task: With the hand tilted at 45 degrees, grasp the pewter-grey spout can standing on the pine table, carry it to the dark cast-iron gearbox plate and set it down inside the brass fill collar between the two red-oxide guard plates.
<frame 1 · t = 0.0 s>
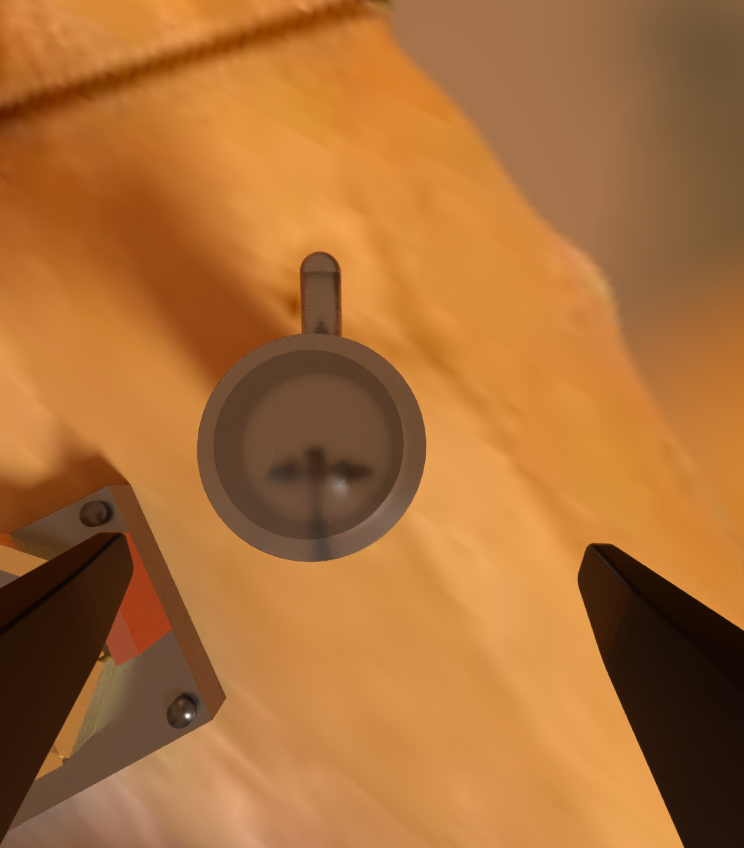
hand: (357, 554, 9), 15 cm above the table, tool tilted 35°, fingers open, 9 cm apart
gearbox: (40, 659, 22), on the table
spout can: (340, 461, 24), on the table
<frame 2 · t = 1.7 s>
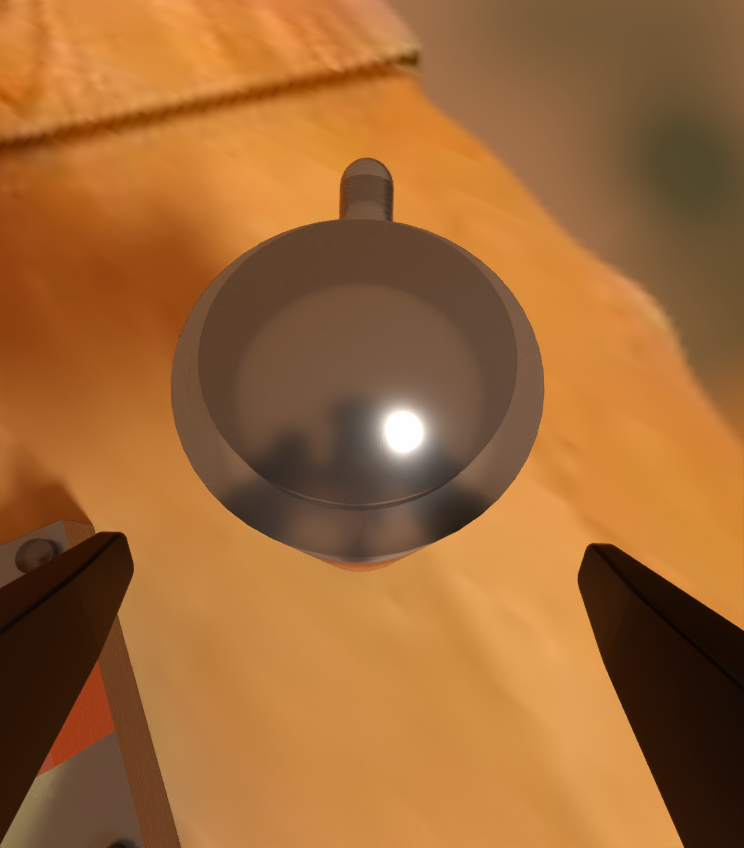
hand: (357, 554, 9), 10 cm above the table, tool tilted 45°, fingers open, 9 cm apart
spout can: (361, 503, 19), on the table
when the fingers open (9 cm above the table, at t = 7.8 s): spout can stays where it is, resting on gearbox.
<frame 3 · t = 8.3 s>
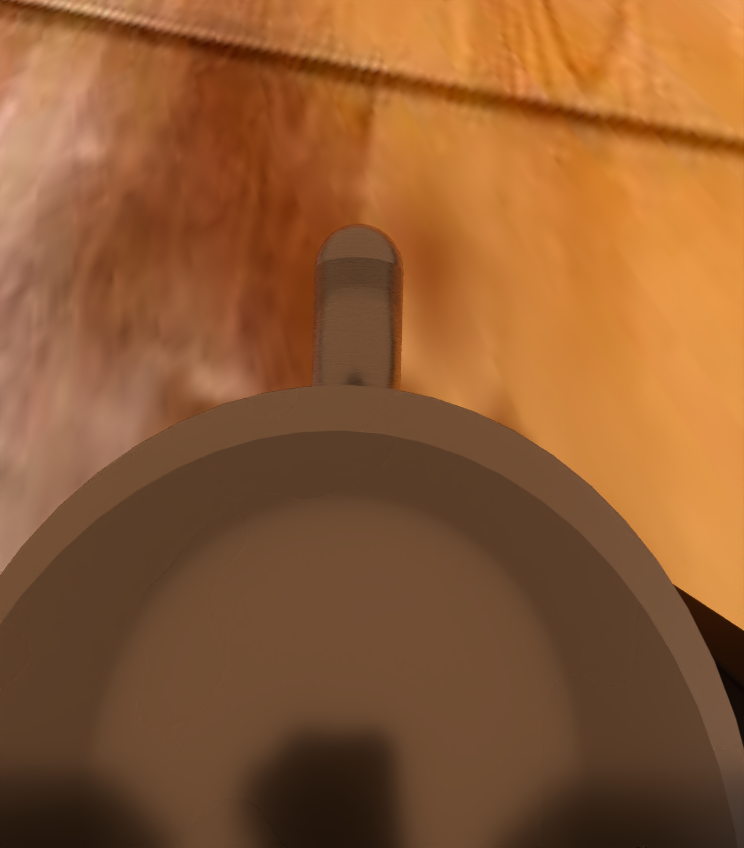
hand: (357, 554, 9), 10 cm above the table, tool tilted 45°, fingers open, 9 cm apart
spout can: (358, 609, 15), point 2 cm above the table, touching gearbox
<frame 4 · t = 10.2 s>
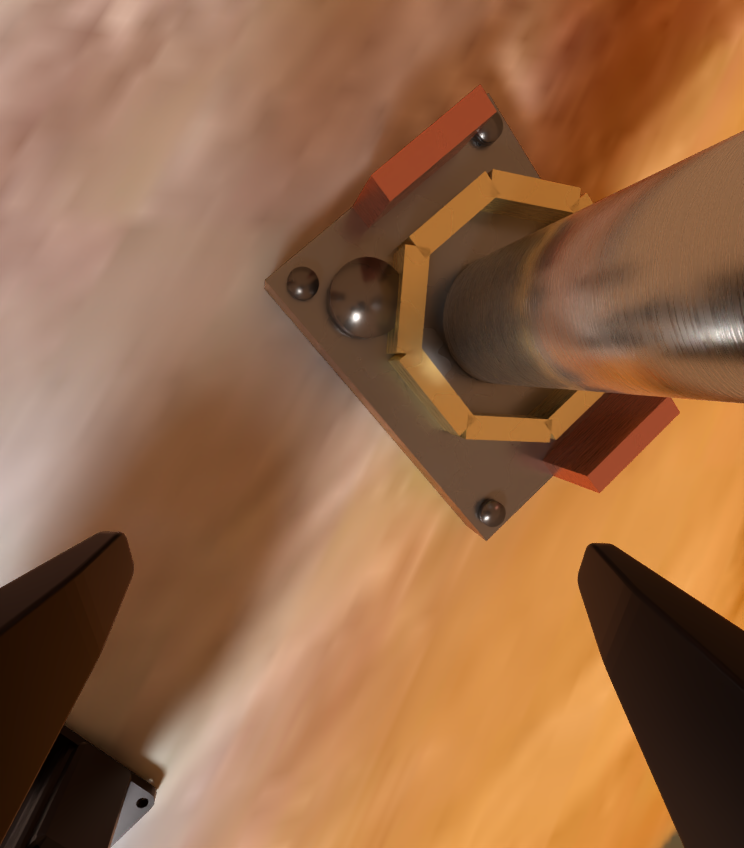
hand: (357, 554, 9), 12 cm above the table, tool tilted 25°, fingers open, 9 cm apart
gearbox: (466, 335, 21), on the table
spout can: (501, 320, 19), point 2 cm above the table, touching gearbox
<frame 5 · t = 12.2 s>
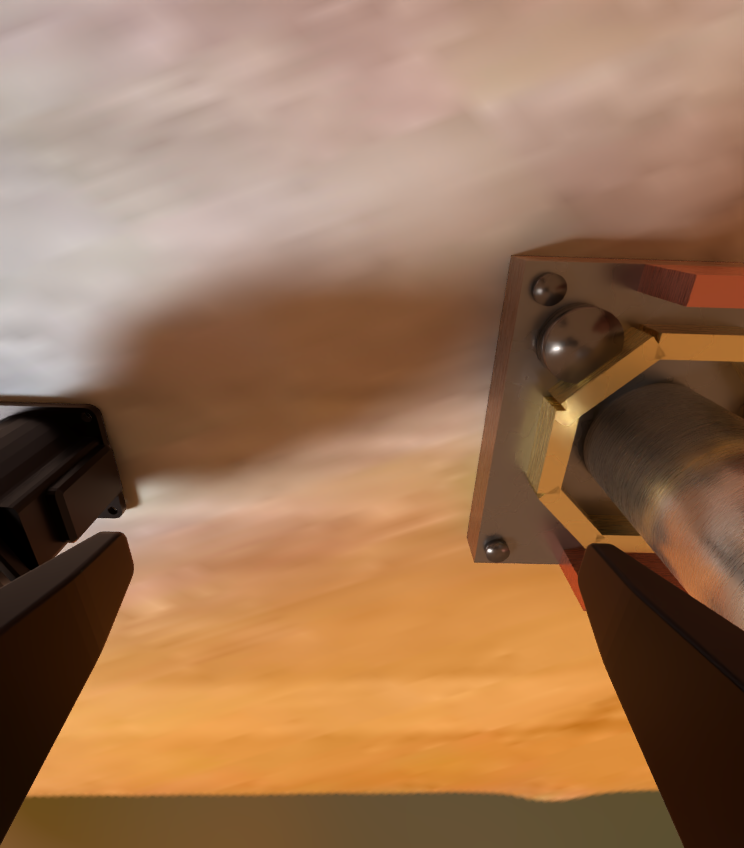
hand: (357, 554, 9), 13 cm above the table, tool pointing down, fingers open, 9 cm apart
gearbox: (606, 420, 22), on the table
spout can: (646, 440, 20), point 2 cm above the table, touching gearbox
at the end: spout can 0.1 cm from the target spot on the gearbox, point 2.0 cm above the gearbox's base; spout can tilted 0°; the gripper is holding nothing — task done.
